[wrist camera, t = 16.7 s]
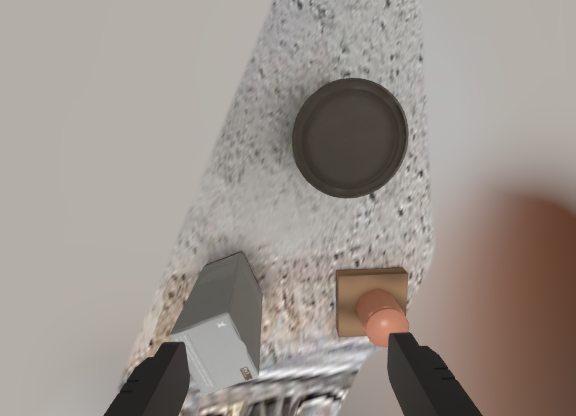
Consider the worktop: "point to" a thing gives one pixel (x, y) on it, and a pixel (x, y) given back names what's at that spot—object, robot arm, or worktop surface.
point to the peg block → (359, 283)
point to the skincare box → (222, 325)
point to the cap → (381, 316)
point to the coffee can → (349, 138)
